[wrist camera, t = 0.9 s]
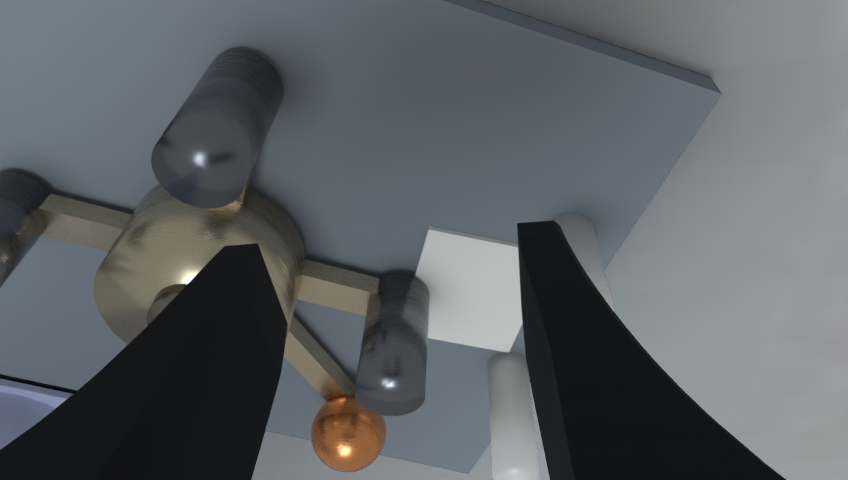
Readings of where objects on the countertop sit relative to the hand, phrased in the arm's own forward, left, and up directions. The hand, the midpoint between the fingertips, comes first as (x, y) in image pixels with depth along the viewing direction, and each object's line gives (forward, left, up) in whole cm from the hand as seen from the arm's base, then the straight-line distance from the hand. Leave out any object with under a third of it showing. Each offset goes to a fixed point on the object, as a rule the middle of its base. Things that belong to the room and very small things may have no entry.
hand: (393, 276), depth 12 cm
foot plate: (-9, +4, -10) cm, 14 cm away
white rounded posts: (-8, -5, -9) cm, 13 cm away
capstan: (-9, +5, -9) cm, 13 cm away
